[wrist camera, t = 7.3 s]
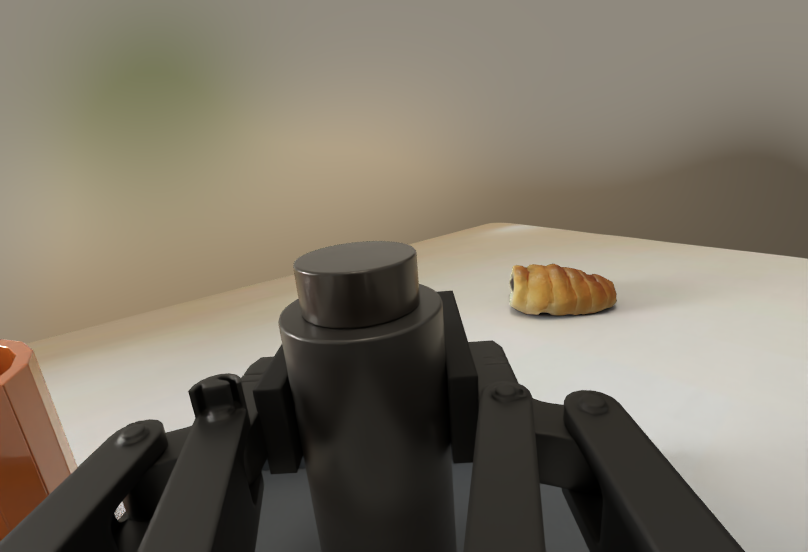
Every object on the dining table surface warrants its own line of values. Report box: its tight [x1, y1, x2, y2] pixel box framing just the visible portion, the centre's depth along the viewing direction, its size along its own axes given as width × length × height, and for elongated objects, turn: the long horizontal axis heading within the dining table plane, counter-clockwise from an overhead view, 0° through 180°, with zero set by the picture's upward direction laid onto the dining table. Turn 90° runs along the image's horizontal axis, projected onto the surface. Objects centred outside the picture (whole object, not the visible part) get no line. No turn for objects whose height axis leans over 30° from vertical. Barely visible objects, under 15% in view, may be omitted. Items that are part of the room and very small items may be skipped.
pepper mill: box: [279, 241, 457, 552], centre depth 12 cm, size 4×4×11 cm
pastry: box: [509, 264, 617, 316], centre depth 38 cm, size 9×7×4 cm
